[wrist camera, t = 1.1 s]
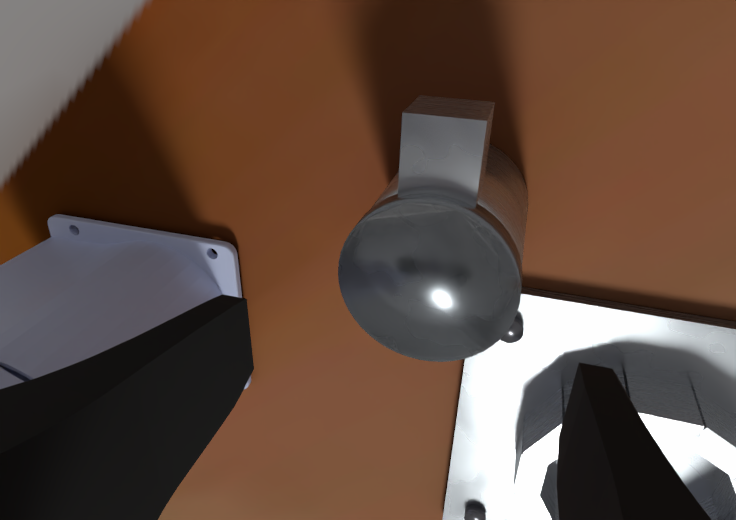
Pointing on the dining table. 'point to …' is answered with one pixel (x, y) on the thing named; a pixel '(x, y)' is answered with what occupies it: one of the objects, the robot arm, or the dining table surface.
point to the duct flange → (552, 391)
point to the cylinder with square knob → (440, 238)
